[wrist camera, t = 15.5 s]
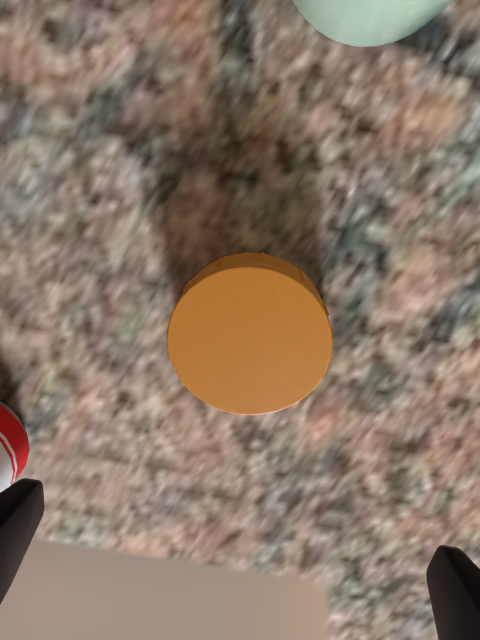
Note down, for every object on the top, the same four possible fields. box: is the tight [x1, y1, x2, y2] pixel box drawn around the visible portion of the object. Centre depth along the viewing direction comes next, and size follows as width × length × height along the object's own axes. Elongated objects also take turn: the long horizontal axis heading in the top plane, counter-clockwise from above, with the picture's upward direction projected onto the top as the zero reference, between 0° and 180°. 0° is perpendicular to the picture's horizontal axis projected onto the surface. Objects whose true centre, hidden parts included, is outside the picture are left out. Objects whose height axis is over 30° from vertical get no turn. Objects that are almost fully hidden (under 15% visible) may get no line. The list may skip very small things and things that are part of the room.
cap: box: [167, 252, 333, 415], centre depth 18 cm, size 7×7×2 cm
